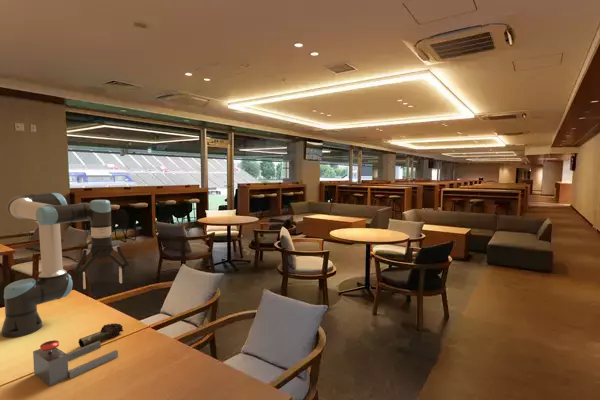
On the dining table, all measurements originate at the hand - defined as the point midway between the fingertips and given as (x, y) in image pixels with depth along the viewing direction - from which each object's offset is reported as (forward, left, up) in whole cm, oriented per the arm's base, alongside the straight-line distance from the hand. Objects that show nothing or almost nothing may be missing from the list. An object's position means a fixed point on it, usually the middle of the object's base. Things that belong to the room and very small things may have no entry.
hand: (103, 285), depth 147 cm
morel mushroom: (-7, +2, -28) cm, 29 cm away
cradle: (+6, -14, -27) cm, 31 cm away
